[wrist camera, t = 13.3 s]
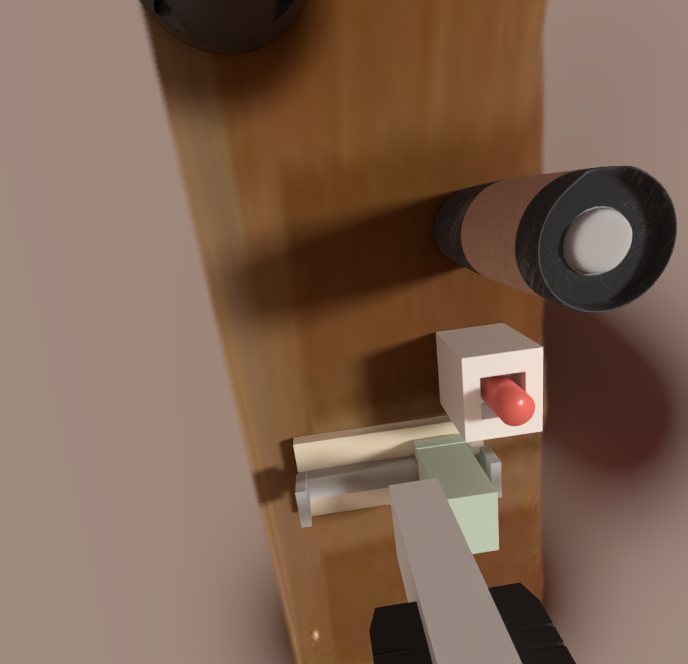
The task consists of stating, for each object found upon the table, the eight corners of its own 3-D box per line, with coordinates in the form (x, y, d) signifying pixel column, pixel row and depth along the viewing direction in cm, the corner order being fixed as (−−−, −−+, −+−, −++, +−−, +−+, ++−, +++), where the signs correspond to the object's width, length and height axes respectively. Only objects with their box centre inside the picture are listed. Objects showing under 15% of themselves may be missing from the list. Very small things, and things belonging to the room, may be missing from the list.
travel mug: (472, 282, 43) (602, 343, 23) (414, 233, 41) (503, 256, 22) (525, 219, 41) (710, 229, 22) (468, 166, 40) (614, 127, 20)
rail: (293, 437, 46) (290, 470, 40) (477, 410, 47) (500, 439, 41) (306, 507, 48) (305, 548, 43) (480, 481, 49) (502, 517, 43)
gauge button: (475, 372, 39) (498, 395, 34) (508, 367, 39) (535, 390, 34) (477, 402, 40) (499, 428, 35) (508, 397, 40) (535, 423, 35)
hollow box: (435, 332, 44) (461, 358, 36) (502, 322, 44) (543, 347, 36) (440, 403, 46) (465, 442, 38) (504, 394, 46) (542, 431, 39)
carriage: (413, 440, 45) (438, 499, 36) (460, 433, 45) (497, 491, 36) (417, 490, 47) (443, 559, 38) (462, 484, 47) (499, 550, 38)
